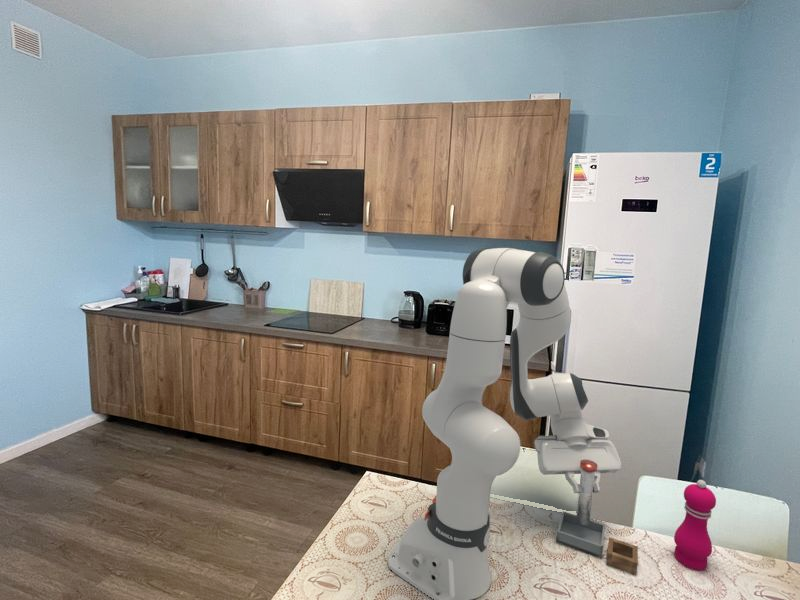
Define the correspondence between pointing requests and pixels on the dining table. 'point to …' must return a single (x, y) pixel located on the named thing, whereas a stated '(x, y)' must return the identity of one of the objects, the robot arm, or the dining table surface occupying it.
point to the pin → (586, 491)
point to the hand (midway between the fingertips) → (587, 492)
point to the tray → (581, 535)
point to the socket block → (622, 556)
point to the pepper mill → (695, 527)
